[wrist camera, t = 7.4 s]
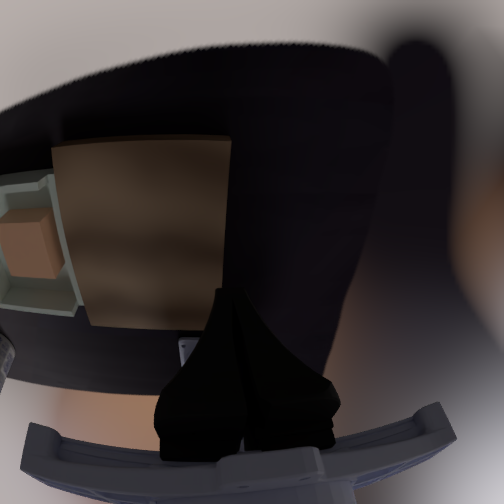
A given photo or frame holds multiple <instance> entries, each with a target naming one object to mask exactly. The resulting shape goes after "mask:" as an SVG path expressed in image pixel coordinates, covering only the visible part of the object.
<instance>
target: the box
mask: <svg viewBox="0 0 504 504" xmlns="http://www.w3.org/2000/svg"><path fill="white" fill-rule="evenodd" d="M48 207H53V211H54V216H55V221H56V226H57V231H58V235H59V239H60V243H61V247H62V251H63V255H64V259H65V264H64V265H63V267H62V269H61V270H60V272H59V274H58V275H57V277H56V279H48V278H32V277H17V276H11V274H10V271H9V268H8V265H7V263H6V260H5V257H4V254H3V251H2V248H1V245H0V308H5V309H12V310H19V311H26V312H34V313H43V314H52V315H61V316H71V317H74V315H75V313H76V310H77V308H78V306H79V305H84V303H83V300H82V297H81V294H80V290H79V287H78V284H77V280H76V277H75V274H74V270H73V266H72V263H71V259H70V255H69V251H68V247H67V243H66V238H65V234H64V229H63V224H62V219H61V214H60V209H59V203H58V197H57V191H56V184H55V177H54V169H53V168H52V169H42V170H34V171H25V172H18V173H11V174H4V175H0V218H1V217H2V216H3V215H4V214H5V213H6V212H7V211H9V210H12V209H28V208H48Z"/></svg>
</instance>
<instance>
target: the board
mask: <svg viewBox="0 0 504 504" xmlns="http://www.w3.org/2000/svg"><path fill="white" fill-rule="evenodd" d="M51 150H52V160H53V169H54V177H55V184H56V191H57V197H58V203H59V209H60V214H61V219H62V224H63V229H64V234H65V238H66V243H67V247H68V251H69V255H70V259H71V263H72V266H73V270H74V274H75V277H76V280H77V284H78V287H79V290H80V294H81V297H82V300H83V303H84V306H85V309H86V312H87V315H88V318H89V320H90V323H91V325H93V326H106V327H121V328H138V329H162V330H204V328H205V325H206V323H207V321H208V318H209V315H210V312H211V309H212V306H213V302H214V297H215V289H217V288H222V274H223V255H224V237H225V221H226V206H227V191H228V177H229V164H230V151H231V139H230V136H225V135H193V134H162V135H130V136H113V137H99V138H88V139H78V140H69V141H63V142H61V143H59V144H57V145H56V146H54V147H52V148H51Z"/></svg>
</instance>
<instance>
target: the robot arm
mask: <svg viewBox="0 0 504 504" xmlns="http://www.w3.org/2000/svg"><path fill="white" fill-rule="evenodd" d="M179 351H180V358H181V366H182V367H181V369H180V370H179V371H178V373H177V374H176V375H175V376H174V378H173V379H172V380H171V381H170V382H169V383H168V384H167V385H166V386H165V387H164V389H163V390H162V392H161V394H160V396H159V399H158V402H157V405H156V408H155V413H154V428H155V430H156V432H157V434H158V436H159V438H160V451H148V450H138V449H129V448H121V447H114V446H107V445H101V444H95V443H89V442H84V441H80V440H75V439H70V438H66V437H62V436H61V435H60V434H59V433H58V432H57V431H56V430H54V429H52V428H50V427H46V426H43V425H39V424H36V423H32V422H31V423H29V427H28V431H27V436H26V440H25V445H24V449H23V455H22V459H21V465H20V469H21V470H22V471H23V472H25V473H26V474H28V475H30V476H31V477H33V478H35V479H37V480H38V481H40V482H42V483H44V484H46V485H48V486H50V487H54V488H57V489H60V490H63V491H66V492H70V493H73V494H77V495H80V496H84V497H88V498H91V499H95V500H100V501H104V502H108V503H113V504H357V502H356V499H355V495H354V492H353V490H356V489H358V488H361V487H364V486H367V485H370V484H372V483H375V482H378V481H381V480H383V479H385V478H388V477H390V476H393V475H395V474H398V473H400V472H402V471H404V470H407V469H409V468H411V467H413V466H416V465H418V464H420V463H422V462H424V461H426V460H428V459H430V458H432V457H433V456H435V455H436V454H438V453H439V452H440V451H442V450H443V449H445V448H446V447H448V446H449V445H450V444H452V443H453V442H454V441H456V439H457V437H456V435H455V433H454V431H453V429H452V427H451V424H450V422H449V420H448V418H447V416H446V414H445V412H444V410H443V408H442V406H441V404H440V402H435V403H433V404H430V405H427V406H425V407H423V408H421V409H419V410H418V411H417V412H416V413H415V414H414V415H413V416H412V417H409V418H407V419H404V420H401V421H398V422H395V423H392V424H388V425H385V426H382V427H379V428H375V429H371V430H368V431H364V432H360V433H357V434H352V435H348V436H343V437H339V438H334V434H333V431H332V428H333V421H332V417H333V416H334V415H335V413H336V412H337V410H338V409H339V407H340V405H341V404H340V399H339V396H338V393H337V392H336V390H335V388H334V386H333V384H332V382H331V381H329V380H328V379H326V378H324V377H323V376H321V375H320V374H318V373H316V372H315V371H313V370H312V369H311V368H309V367H308V366H306V365H305V364H304V363H303V362H302V361H300V360H299V359H298V358H297V357H296V356H295V355H293V354H292V353H291V352H290V351H289V350H288V349H287V348H286V347H285V346H284V345H283V344H282V343H281V342H280V341H279V340H278V338H277V337H276V336H275V335H274V334H273V333H272V331H271V330H270V329H269V327H268V326H267V325H266V323H265V322H264V321H263V319H262V318H261V316H260V315H259V313H258V312H257V310H256V308H255V307H254V305H253V303H252V302H251V300H250V298H249V296H248V294H247V292H246V290H245V289H244V288H217V289H215V297H214V302H213V306H212V309H211V312H210V315H209V318H208V321H207V323H206V325H205V328H204V330H203V332H202V334H201V337H181V338H179Z"/></svg>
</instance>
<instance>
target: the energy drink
mask: <svg viewBox="0 0 504 504" xmlns="http://www.w3.org/2000/svg"><path fill="white" fill-rule="evenodd" d="M14 357H15V350H14V347H13V345H12V344H11V342H10V341H9V340H8V339H7V338H6V337H5V336H4V335H2V334H1V333H0V393H1V390H2V387H3V384H4V382H5V379H6V376H7V374H8V371H9V369H10V366H11V364H12V361H13V359H14Z"/></svg>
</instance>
